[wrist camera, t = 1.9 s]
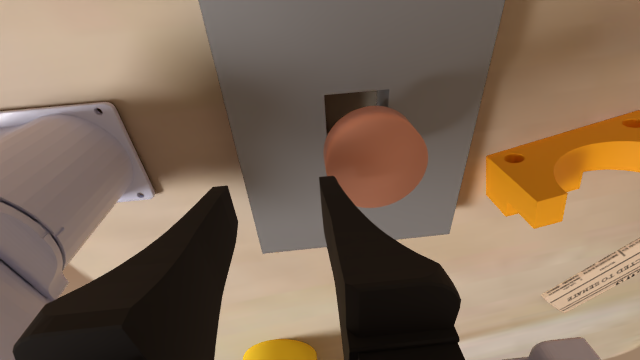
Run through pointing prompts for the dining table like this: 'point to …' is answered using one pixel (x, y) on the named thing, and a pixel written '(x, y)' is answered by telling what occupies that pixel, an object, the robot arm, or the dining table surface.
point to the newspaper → (596, 278)
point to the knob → (375, 156)
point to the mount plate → (347, 77)
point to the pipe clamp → (559, 167)
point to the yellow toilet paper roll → (281, 351)
